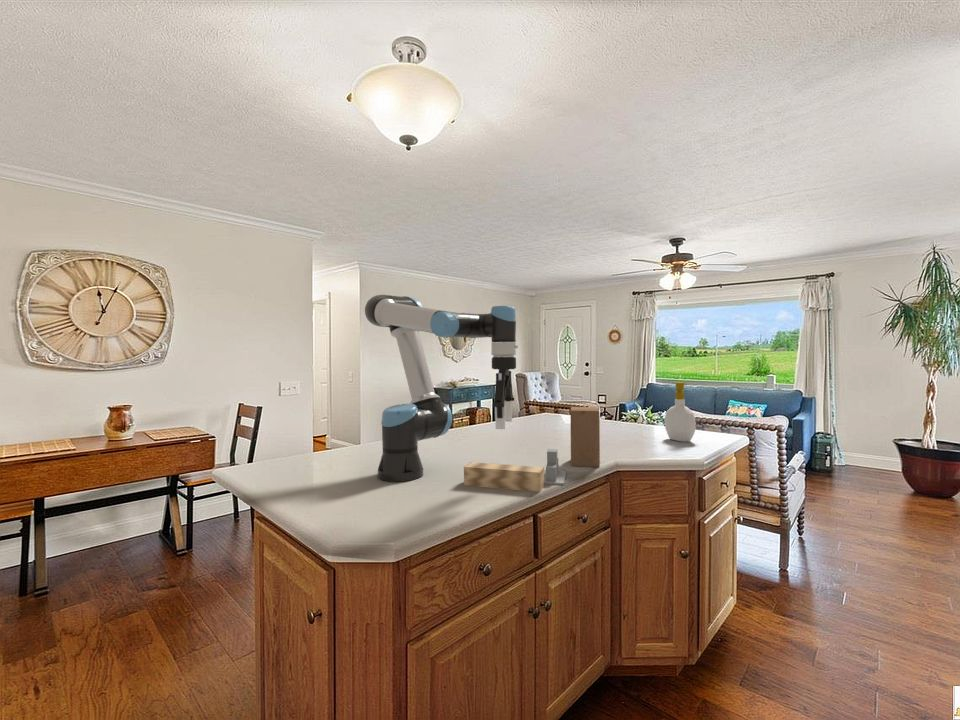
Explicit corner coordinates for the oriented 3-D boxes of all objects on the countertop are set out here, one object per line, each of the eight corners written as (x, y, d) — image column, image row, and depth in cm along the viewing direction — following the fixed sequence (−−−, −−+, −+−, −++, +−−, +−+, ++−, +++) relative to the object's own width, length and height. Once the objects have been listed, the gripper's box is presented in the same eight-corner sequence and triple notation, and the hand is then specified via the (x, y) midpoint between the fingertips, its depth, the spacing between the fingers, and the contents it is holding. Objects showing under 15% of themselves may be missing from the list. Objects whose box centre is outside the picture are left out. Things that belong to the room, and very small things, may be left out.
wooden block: (599, 467, 161) (599, 410, 161) (570, 466, 163) (570, 410, 163) (598, 460, 171) (598, 407, 170) (571, 459, 173) (570, 406, 172)
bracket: (537, 483, 143) (537, 454, 143) (542, 471, 157) (542, 445, 156) (563, 484, 141) (563, 455, 141) (566, 472, 155) (565, 446, 155)
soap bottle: (701, 441, 201) (701, 382, 200) (689, 444, 196) (689, 383, 196) (672, 436, 213) (672, 380, 213) (660, 438, 209) (660, 381, 208)
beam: (464, 485, 143) (463, 466, 142) (470, 480, 148) (470, 462, 148) (540, 492, 135) (540, 472, 135) (544, 486, 141) (544, 467, 140)
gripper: (509, 357, 128) (510, 432, 129) (521, 355, 152) (521, 418, 153) (483, 357, 130) (483, 432, 130) (499, 355, 154) (499, 418, 155)
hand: (504, 425), depth 142 cm, fingers open, 13 cm apart
